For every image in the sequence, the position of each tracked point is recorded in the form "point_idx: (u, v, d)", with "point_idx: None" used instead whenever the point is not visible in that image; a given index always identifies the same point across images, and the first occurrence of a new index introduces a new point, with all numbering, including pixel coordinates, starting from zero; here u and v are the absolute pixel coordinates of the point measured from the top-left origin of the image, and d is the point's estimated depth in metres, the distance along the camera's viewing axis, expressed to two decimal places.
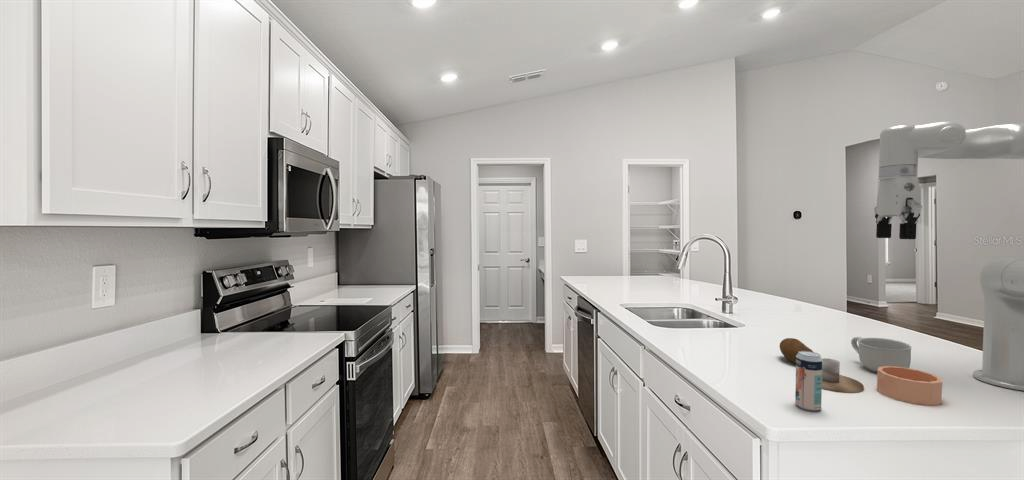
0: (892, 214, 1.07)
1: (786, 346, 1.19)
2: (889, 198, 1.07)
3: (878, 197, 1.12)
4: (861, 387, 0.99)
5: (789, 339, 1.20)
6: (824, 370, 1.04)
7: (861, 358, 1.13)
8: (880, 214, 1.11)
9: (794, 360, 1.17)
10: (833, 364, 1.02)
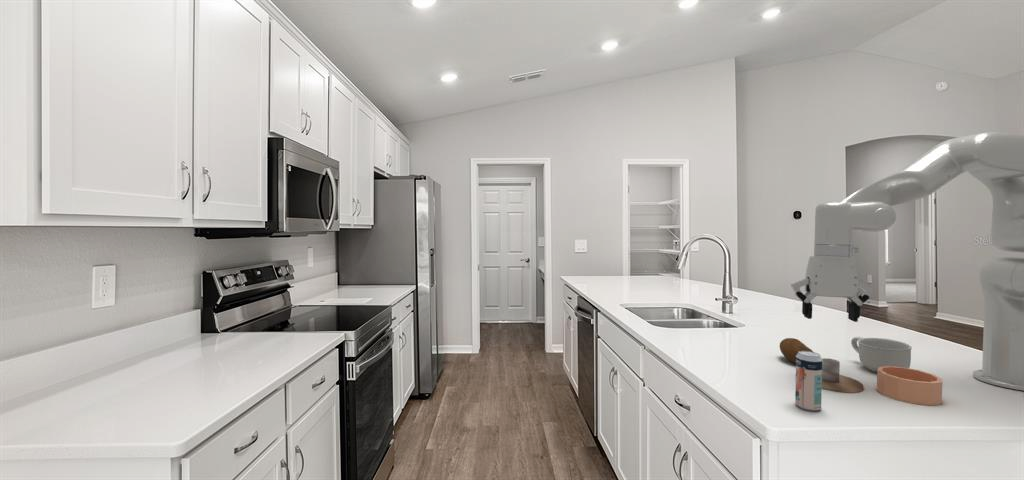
0: (845, 296, 1.01)
1: (786, 346, 1.19)
2: (843, 279, 1.00)
3: (818, 275, 1.02)
4: (861, 387, 0.99)
5: (789, 339, 1.20)
6: (824, 370, 1.04)
7: (861, 358, 1.13)
8: (821, 294, 1.02)
9: (794, 360, 1.17)
10: (833, 364, 1.02)
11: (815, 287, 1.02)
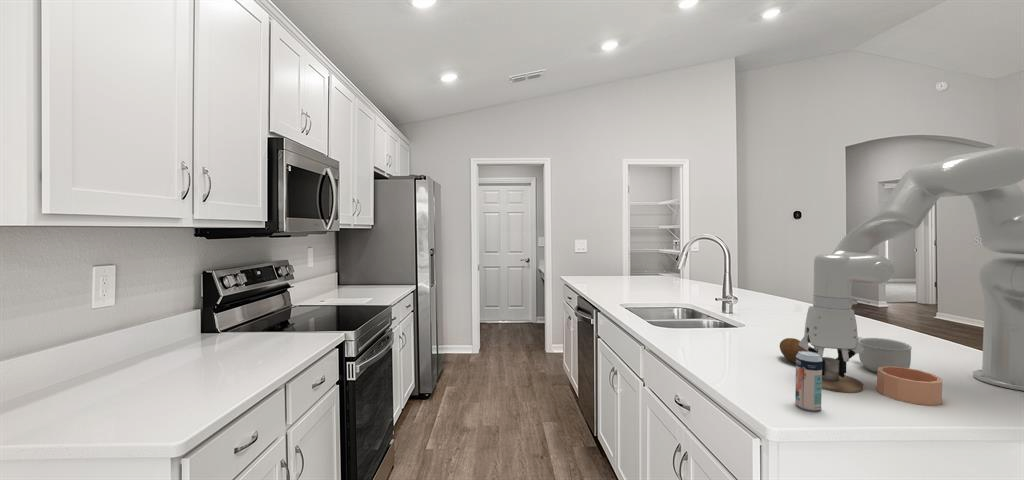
0: (844, 348, 1.01)
1: (786, 346, 1.19)
2: (843, 331, 1.01)
3: (818, 327, 1.02)
4: (861, 386, 0.99)
5: (789, 339, 1.20)
6: None
7: (861, 358, 1.13)
8: (821, 346, 1.02)
9: (794, 360, 1.17)
10: (833, 363, 1.02)
11: (815, 339, 1.03)
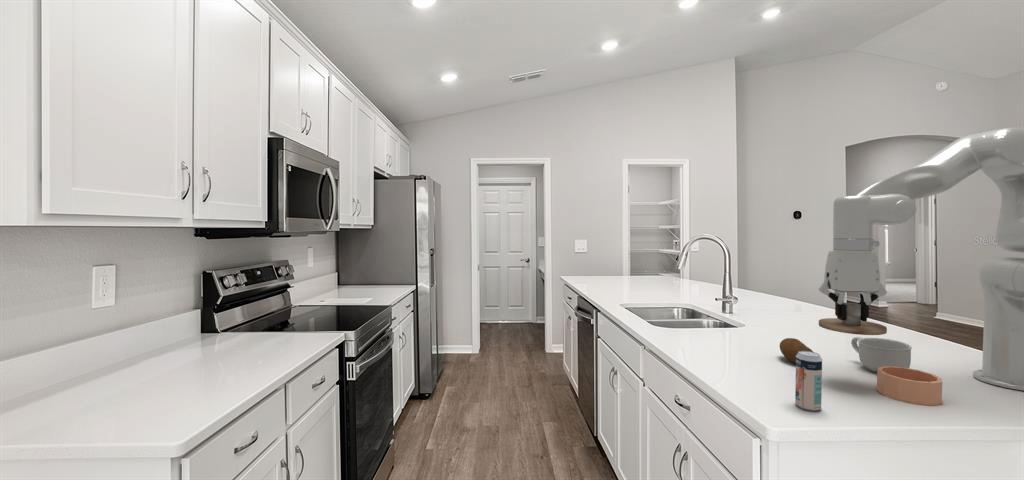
0: (867, 291, 0.99)
1: (786, 346, 1.19)
2: (865, 273, 0.98)
3: (838, 270, 1.00)
4: (884, 328, 0.97)
5: (789, 339, 1.20)
6: None
7: (861, 358, 1.13)
8: (842, 289, 1.00)
9: (794, 360, 1.17)
10: (854, 307, 1.00)
11: (835, 282, 1.00)
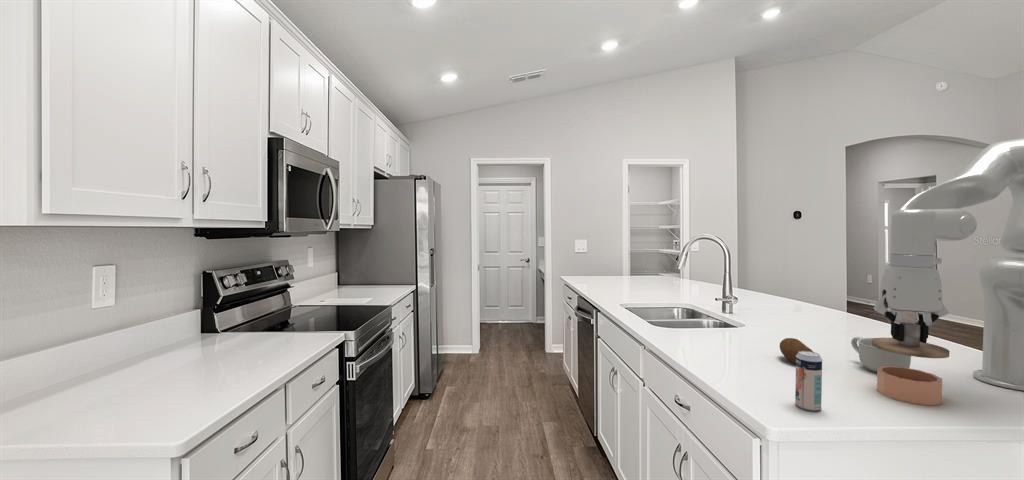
0: (927, 310, 0.93)
1: (786, 346, 1.19)
2: (926, 292, 0.92)
3: (897, 288, 0.94)
4: (947, 351, 0.91)
5: (789, 339, 1.20)
6: None
7: (861, 358, 1.13)
8: (900, 308, 0.94)
9: (794, 360, 1.17)
10: (914, 327, 0.94)
11: (894, 301, 0.94)
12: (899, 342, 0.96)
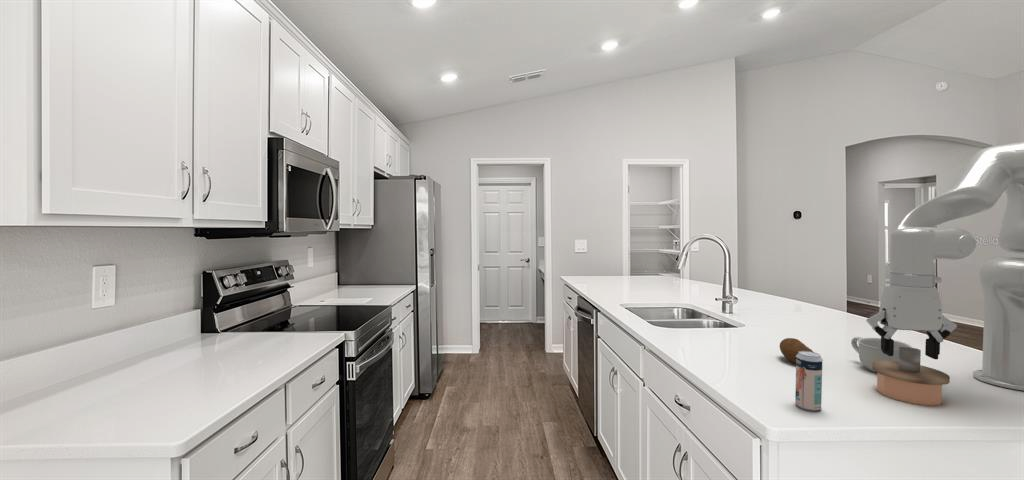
0: (927, 329, 0.93)
1: (786, 346, 1.19)
2: (926, 311, 0.93)
3: (897, 307, 0.94)
4: (947, 377, 0.91)
5: (789, 339, 1.20)
6: (903, 359, 0.95)
7: (861, 358, 1.13)
8: (900, 327, 0.94)
9: (794, 360, 1.17)
10: (914, 352, 0.94)
11: (894, 320, 0.95)
12: (899, 367, 0.96)
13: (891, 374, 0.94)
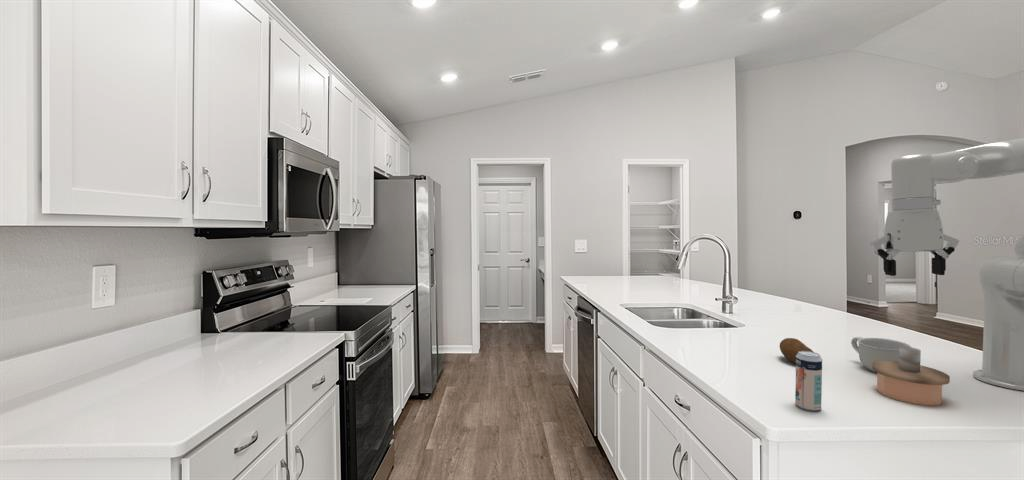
0: (930, 249, 0.98)
1: (786, 346, 1.19)
2: (928, 232, 0.98)
3: (901, 230, 0.99)
4: (947, 377, 0.91)
5: (789, 339, 1.20)
6: (903, 359, 0.95)
7: (861, 358, 1.13)
8: (905, 249, 1.00)
9: (794, 360, 1.17)
10: (914, 352, 0.94)
11: (898, 243, 1.00)
12: (899, 367, 0.96)
13: (891, 374, 0.94)
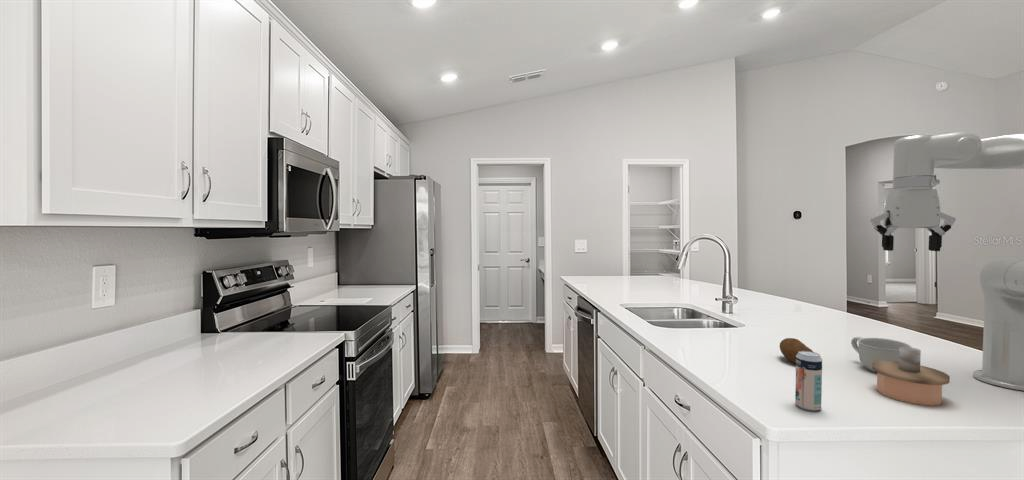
0: (927, 226, 1.03)
1: (786, 346, 1.19)
2: (926, 209, 1.03)
3: (900, 207, 1.05)
4: (947, 377, 0.91)
5: (789, 339, 1.20)
6: (903, 359, 0.95)
7: (861, 358, 1.13)
8: (903, 225, 1.05)
9: (794, 360, 1.17)
10: (914, 352, 0.94)
11: (897, 219, 1.05)
12: (899, 367, 0.96)
13: (891, 374, 0.94)
